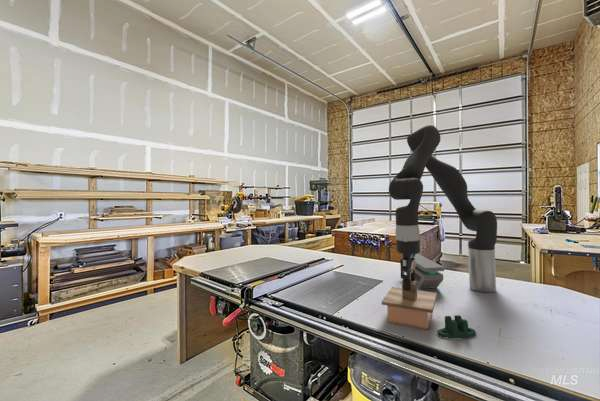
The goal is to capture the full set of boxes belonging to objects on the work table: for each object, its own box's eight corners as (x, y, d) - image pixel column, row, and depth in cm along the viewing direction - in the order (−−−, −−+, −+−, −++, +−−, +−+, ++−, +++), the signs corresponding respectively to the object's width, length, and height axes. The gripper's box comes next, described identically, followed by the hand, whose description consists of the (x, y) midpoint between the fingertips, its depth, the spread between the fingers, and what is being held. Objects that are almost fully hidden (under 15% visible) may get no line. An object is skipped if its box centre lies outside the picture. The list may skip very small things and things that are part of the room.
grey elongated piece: (445, 293, 110) (444, 267, 110) (425, 294, 110) (425, 268, 110) (418, 275, 135) (417, 253, 135) (403, 275, 135) (402, 254, 135)
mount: (442, 340, 77) (441, 322, 76) (434, 332, 81) (433, 315, 81) (480, 338, 77) (479, 320, 77) (470, 330, 81) (469, 313, 81)
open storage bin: (395, 307, 99) (395, 291, 98) (432, 314, 92) (431, 296, 92) (387, 321, 88) (387, 303, 88) (428, 329, 82) (427, 310, 82)
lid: (392, 289, 101) (391, 273, 100) (436, 295, 93) (436, 278, 93) (381, 304, 88) (380, 286, 88) (432, 313, 80) (431, 293, 80)
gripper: (400, 234, 98) (401, 278, 98) (391, 241, 86) (393, 291, 86) (422, 235, 94) (424, 281, 94) (416, 242, 82) (418, 295, 82)
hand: (409, 286), depth 90 cm, fingers open, 8 cm apart
